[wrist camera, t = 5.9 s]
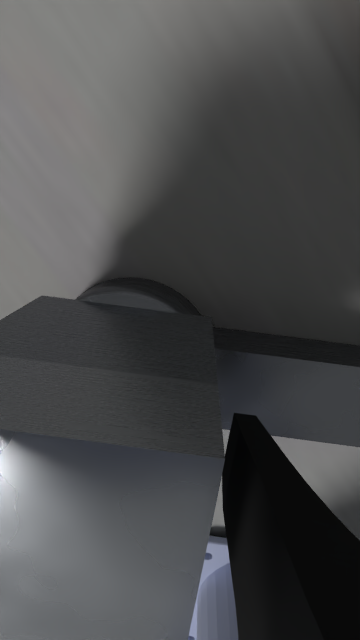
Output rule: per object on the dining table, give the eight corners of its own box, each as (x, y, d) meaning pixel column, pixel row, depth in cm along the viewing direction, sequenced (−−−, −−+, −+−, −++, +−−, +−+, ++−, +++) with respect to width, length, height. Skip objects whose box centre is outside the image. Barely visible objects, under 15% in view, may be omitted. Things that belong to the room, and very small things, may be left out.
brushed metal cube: (189, 453, 12) (181, 673, 6) (46, 434, 12) (-87, 634, 7) (211, 317, 10) (224, 459, 5) (41, 295, 10) (-150, 408, 5)
